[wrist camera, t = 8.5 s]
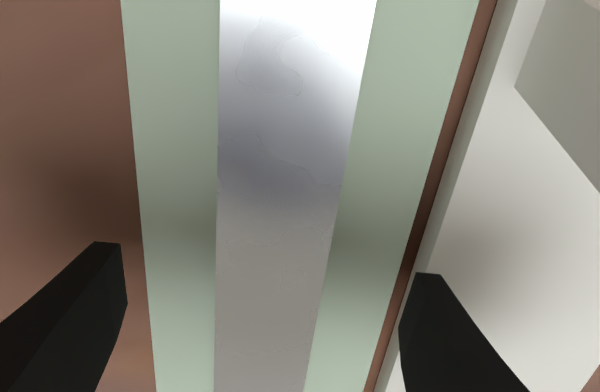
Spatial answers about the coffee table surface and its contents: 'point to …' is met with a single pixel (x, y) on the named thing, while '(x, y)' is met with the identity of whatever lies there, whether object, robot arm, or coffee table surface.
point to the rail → (280, 178)
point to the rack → (524, 198)
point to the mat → (354, 192)
